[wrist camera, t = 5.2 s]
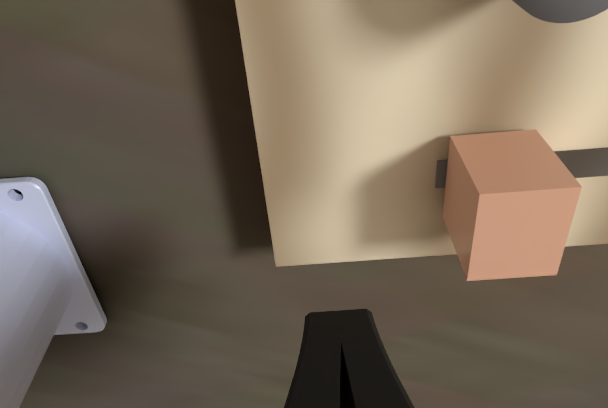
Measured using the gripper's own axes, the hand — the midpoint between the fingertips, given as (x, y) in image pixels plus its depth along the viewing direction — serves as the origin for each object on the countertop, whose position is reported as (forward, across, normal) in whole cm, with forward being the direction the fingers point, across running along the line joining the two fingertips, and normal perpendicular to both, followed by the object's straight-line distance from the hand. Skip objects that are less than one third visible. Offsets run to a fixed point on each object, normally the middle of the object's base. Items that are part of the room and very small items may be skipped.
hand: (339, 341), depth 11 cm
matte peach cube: (+6, -5, 0) cm, 8 cm away
